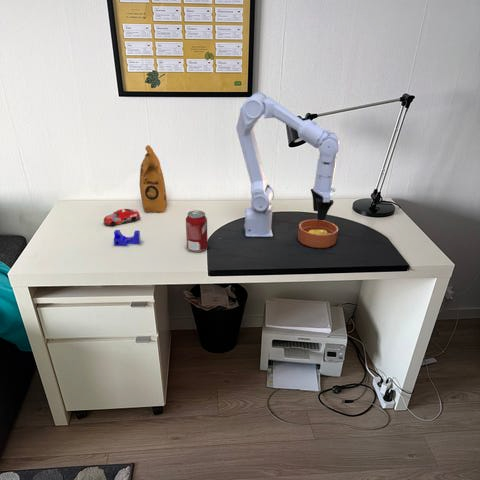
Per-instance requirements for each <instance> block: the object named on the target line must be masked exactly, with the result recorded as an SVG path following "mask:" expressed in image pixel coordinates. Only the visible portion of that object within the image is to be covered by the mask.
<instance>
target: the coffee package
mask: <svg viewBox="0 0 480 480" xmlns="http://www.w3.org/2000/svg"><path fill="white" fill-rule="evenodd" d="M144 149H145V151H146V153H145V154H144V158H143V160H142V161H141V164H140V171H139V191H140V199H141V205H142V208H143V211H144V212H145V213H164V212H165V210H166V207H167V204H168V203H167V202H168V201H167V200H168V199H167V190H166V182H165V177H164V174H163V170H162V167H161V162H160V159H159V157H158V156H157V155H156V153H155V152H154V150H153V148H152V147H151V145H149V144H148V145H145V148H144Z"/></svg>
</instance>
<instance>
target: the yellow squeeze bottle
mask: <svg viewBox="0 0 480 480" xmlns="http://www.w3.org/2000/svg"><path fill="white" fill-rule="evenodd" d="M308 233H312V234H317V235H327V234H331V233H327V231H325V230H310V231H309V232H308Z"/></svg>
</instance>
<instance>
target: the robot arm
mask: <svg viewBox="0 0 480 480" xmlns="http://www.w3.org/2000/svg"><path fill="white" fill-rule="evenodd" d="M262 116H263V119H265V120H266V119H276V120H278V121H280V122H282V123H283V124H284V125H286V126H288V127H290V128H291V129H293V130H295V131H297V135H298V138H299V139H301V140H303V141H304V142H305V143H307V144H309V145H310V146H312V147H313V148H315V149H318V151H319V157H318V159H317V164H316V170H315V177H314V185H313V187H312V188H310V192H311V197H312V207H313V212H316V213H317V215H316V216H317V218H316V219H318V220H325V219H326V217H327V215H328V212H329V210H330V209H331V208H332V206H333V205H334V203H335V202H334V200H333V199H331V195H332V193H334V192H336V188H335V187H333V184H334V178H335V171H336V165H337V159H338V153H339V150H340V139H339V136H338V135H337V134H336V132H332V131H330V129H325V128H323V127H321V125H319V124H317V123H318V121H317V120H316V119H312V120H311V119H305V120H303V119H301V117H299V116H297V115H296V114H295V113H293V112H292V111H290V110H289V109H288V108H286V107H285V106H283V105H282V104H281V103H279V102H278V101H277V100H275V99H274V98H272V97H270V96H267V95H266V94H265V93H263V92H254V93H253V94H252V95H251V96H250V97H248V98H247V99H245V100H244V102H243V104H242V105H241V107H240V108H239V115H238V119H237V122H236V127H235V128H236V129H235V130H236V133H237V134H236V135H237V137H238V141H239V144H240V147H241V152H242V157H243V159H244V163H245V167H246V169H247V173H248V177H249V181H250V194H251V200H250V204H251V207H246V208H245V213H244V225H243V229H244V235H245V237H247V238H249V237H250V238H273V237H274V234H273V231H272V221H273V205H272V201H273V199H274V198H275V192H274V190H273V188H272V187H271V185H270V183H269V180H268V179H267V177H266V175H265V171H264V165H263V163H262V159H261V154H260V150H259V147H258V142H257V140H256V135H255V131H254V129H255V126H257V125H256V124H257V123H258V122H259V119H260V118H262Z"/></svg>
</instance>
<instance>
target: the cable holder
mask: <svg viewBox="0 0 480 480" xmlns="http://www.w3.org/2000/svg"><path fill="white" fill-rule="evenodd" d="M113 235H114V236H113V245H114V246H115V247H128V245H141V244H142V239H141V230H134V233H133V235H132V236H126V235H124V234H122V232H121V230H120V229H115V230H114V231H113Z"/></svg>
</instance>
